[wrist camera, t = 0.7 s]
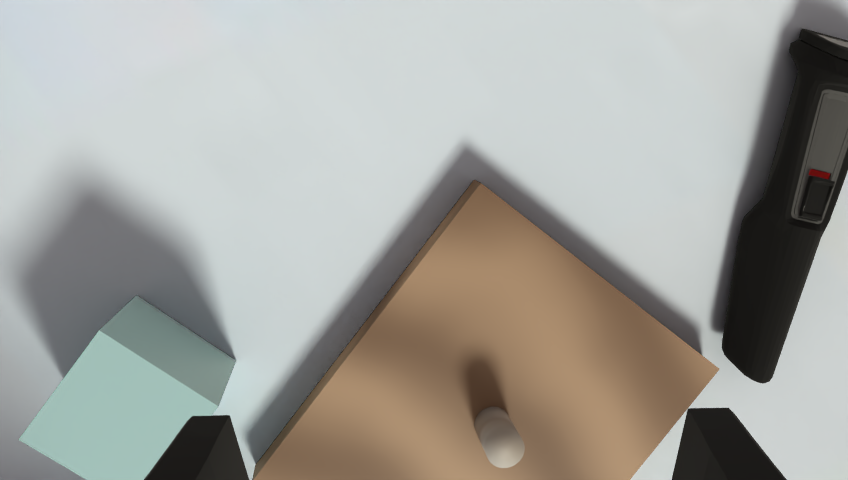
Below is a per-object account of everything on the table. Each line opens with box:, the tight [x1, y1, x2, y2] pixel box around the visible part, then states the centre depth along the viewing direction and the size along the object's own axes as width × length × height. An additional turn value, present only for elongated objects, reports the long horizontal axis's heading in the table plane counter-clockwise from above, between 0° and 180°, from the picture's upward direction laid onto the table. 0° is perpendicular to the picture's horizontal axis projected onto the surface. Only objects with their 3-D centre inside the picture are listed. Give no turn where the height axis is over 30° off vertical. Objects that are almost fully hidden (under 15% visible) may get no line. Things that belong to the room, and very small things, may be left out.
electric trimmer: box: [722, 29, 848, 383], centre depth 32 cm, size 4×16×3 cm, turn 167°
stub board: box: [252, 180, 719, 480], centre depth 31 cm, size 16×14×4 cm
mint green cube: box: [19, 295, 236, 480], centre depth 29 cm, size 5×5×5 cm
